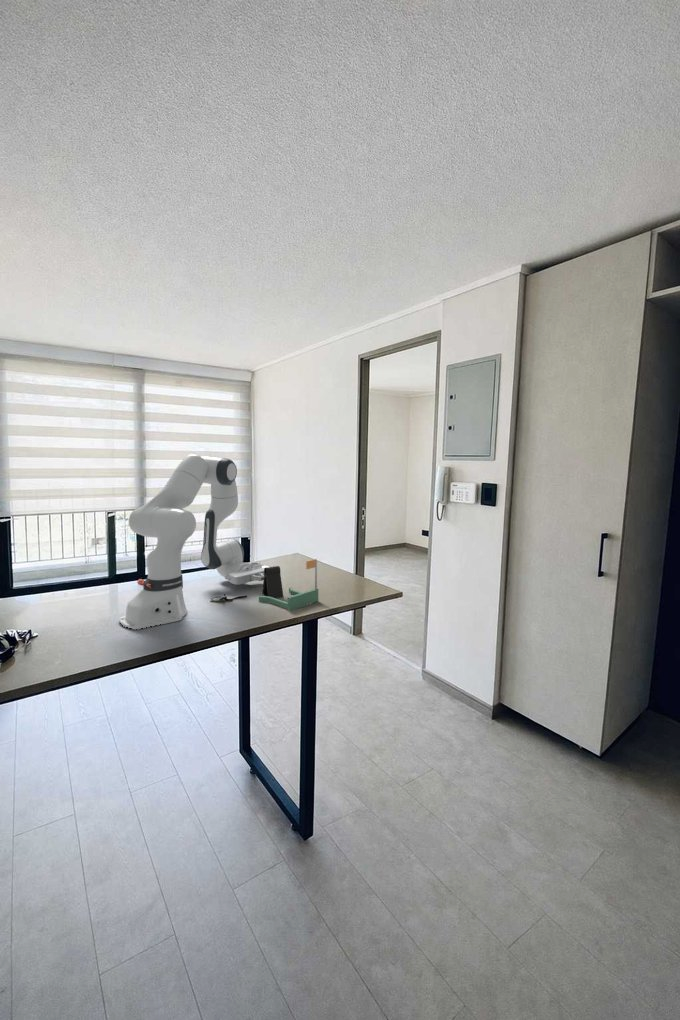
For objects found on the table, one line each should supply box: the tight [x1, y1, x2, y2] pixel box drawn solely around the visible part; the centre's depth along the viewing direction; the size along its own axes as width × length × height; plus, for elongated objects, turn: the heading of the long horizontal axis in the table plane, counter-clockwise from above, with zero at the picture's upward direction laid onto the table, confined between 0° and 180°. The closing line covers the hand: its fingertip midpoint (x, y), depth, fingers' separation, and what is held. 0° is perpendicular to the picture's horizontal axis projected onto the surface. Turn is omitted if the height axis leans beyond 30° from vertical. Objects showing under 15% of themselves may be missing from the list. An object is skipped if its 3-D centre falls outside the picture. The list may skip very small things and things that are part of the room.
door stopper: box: [261, 565, 284, 599], centre depth 182 cm, size 9×6×12 cm, turn 28°
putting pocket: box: [258, 558, 319, 612], centre depth 175 cm, size 17×18×17 cm
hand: (262, 578), depth 186 cm, fingers closed
